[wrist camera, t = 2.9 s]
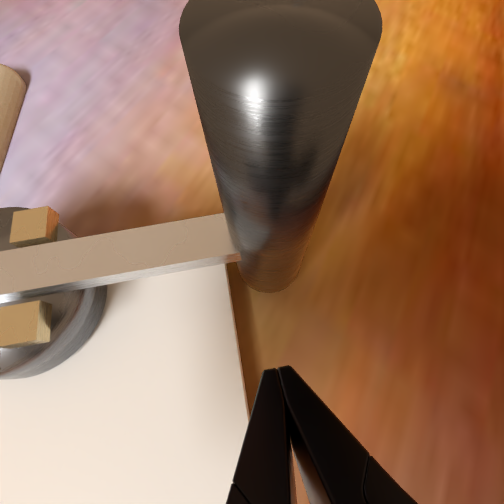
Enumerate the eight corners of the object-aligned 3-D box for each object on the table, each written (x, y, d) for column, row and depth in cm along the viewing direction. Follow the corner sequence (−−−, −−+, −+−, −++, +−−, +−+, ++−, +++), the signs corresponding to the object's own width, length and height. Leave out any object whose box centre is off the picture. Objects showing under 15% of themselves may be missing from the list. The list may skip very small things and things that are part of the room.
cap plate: (265, 518, 14) (265, 535, 12) (-64, 586, 13) (-102, 611, 12) (221, 231, 19) (218, 220, 18) (-13, 272, 19) (-35, 264, 18)
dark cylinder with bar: (315, 325, 16) (475, 190, 4) (-41, 391, 15) (-1128, 470, 3) (284, 198, 19) (319, -102, 7) (-16, 250, 18) (-552, 22, 6)
